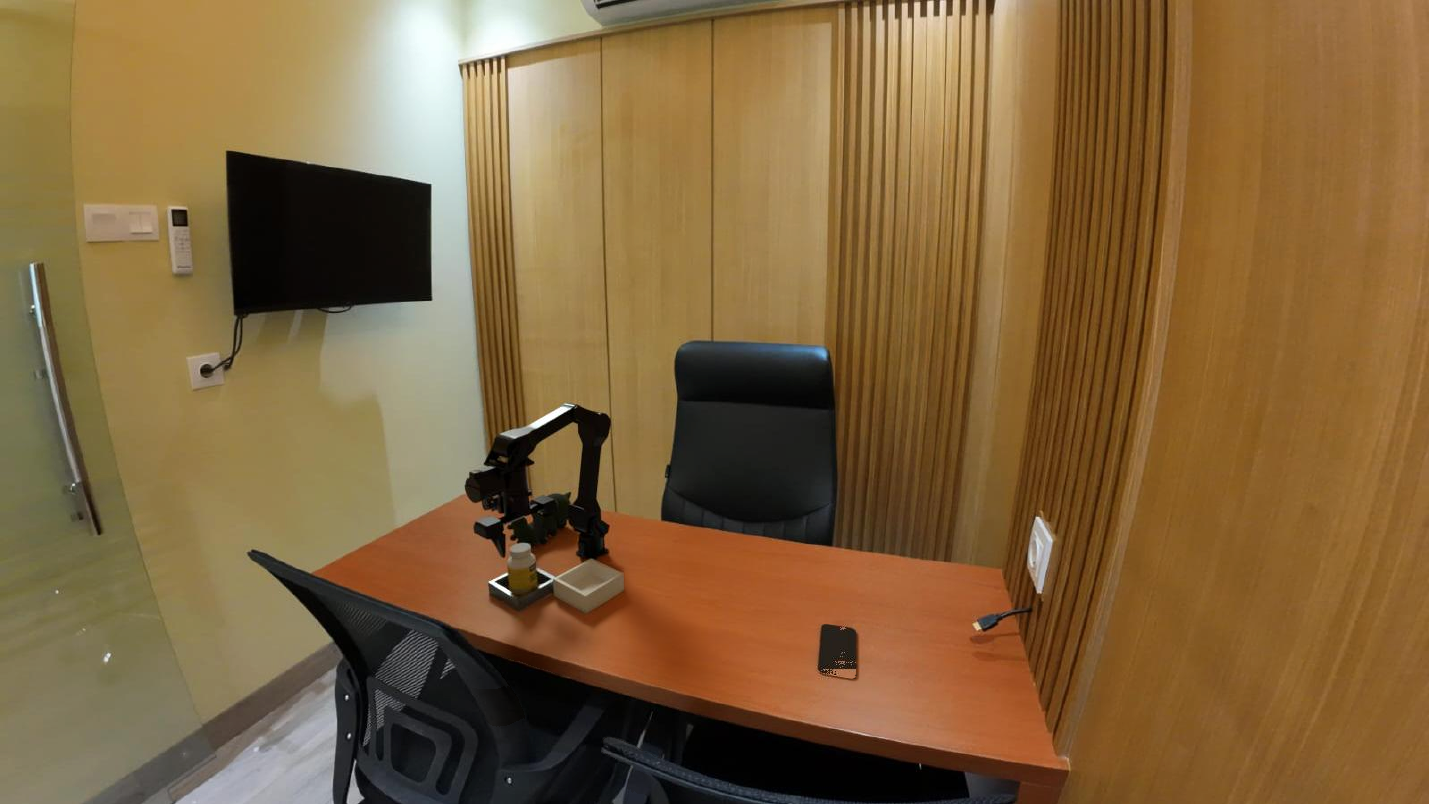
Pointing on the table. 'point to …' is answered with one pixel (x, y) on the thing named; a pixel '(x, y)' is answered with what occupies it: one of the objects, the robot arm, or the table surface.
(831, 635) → the phone
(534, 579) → the pill bottle
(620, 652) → the table surface
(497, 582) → the collar
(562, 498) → the toy figurine
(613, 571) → the bin
